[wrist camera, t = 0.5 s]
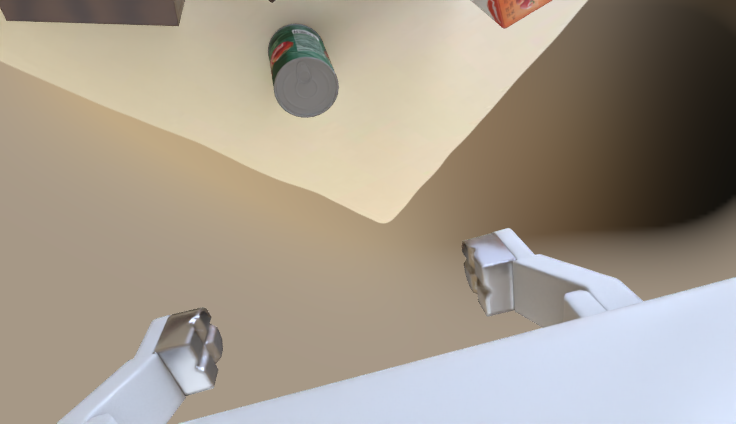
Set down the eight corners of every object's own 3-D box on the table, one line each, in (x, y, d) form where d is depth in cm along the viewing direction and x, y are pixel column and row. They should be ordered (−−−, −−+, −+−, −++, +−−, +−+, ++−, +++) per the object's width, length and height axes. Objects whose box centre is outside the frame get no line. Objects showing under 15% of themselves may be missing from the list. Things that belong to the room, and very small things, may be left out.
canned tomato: (328, 73, 60) (342, 111, 52) (275, 83, 59) (282, 123, 52) (319, 18, 54) (334, 51, 47) (261, 28, 54) (266, 64, 46)
